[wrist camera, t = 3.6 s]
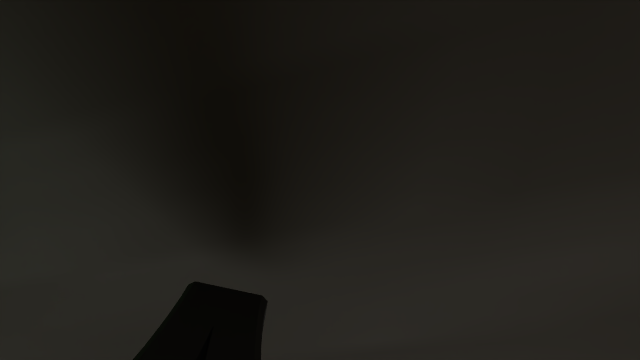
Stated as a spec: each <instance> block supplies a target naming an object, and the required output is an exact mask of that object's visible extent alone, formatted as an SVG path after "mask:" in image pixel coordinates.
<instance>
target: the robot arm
mask: <svg viewBox="0 0 640 360" xmlns="http://www.w3.org/2000/svg"><path fill="white" fill-rule="evenodd" d="M267 302H268V301H267V300H266V299H265V298H264V297H263V296H261V295H257V294H252V293H247V292H242V291H238V290H233V289H228V288H224V287H219V286H214V285H209V284H205V283H200V282H193V283H191V284H189V285H188V286H187V288H186V289H185V291H184V293H183V294H182V296H181V297H180V299H179V300H178V302H177V303H176V305H175V306H174V308H173V309H172V310H171V312H170V313H169V315H168V316H167V317H166V319H165V320H164V321H163V323H162V324H161V325H160V327H159V328H158V329H157V331H156V332H155V333H154V334H153V336H152V337H151V338H150V340H149V341H148V342H147V343H146V345H145V346H144V347H143V348H142V349H141V351H140V352H139V353H138V354H137V355H136V357H135V358H134V359H133V360H261V341H262V331H263V326H264V320H265V314H266V308H267Z"/></svg>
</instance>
